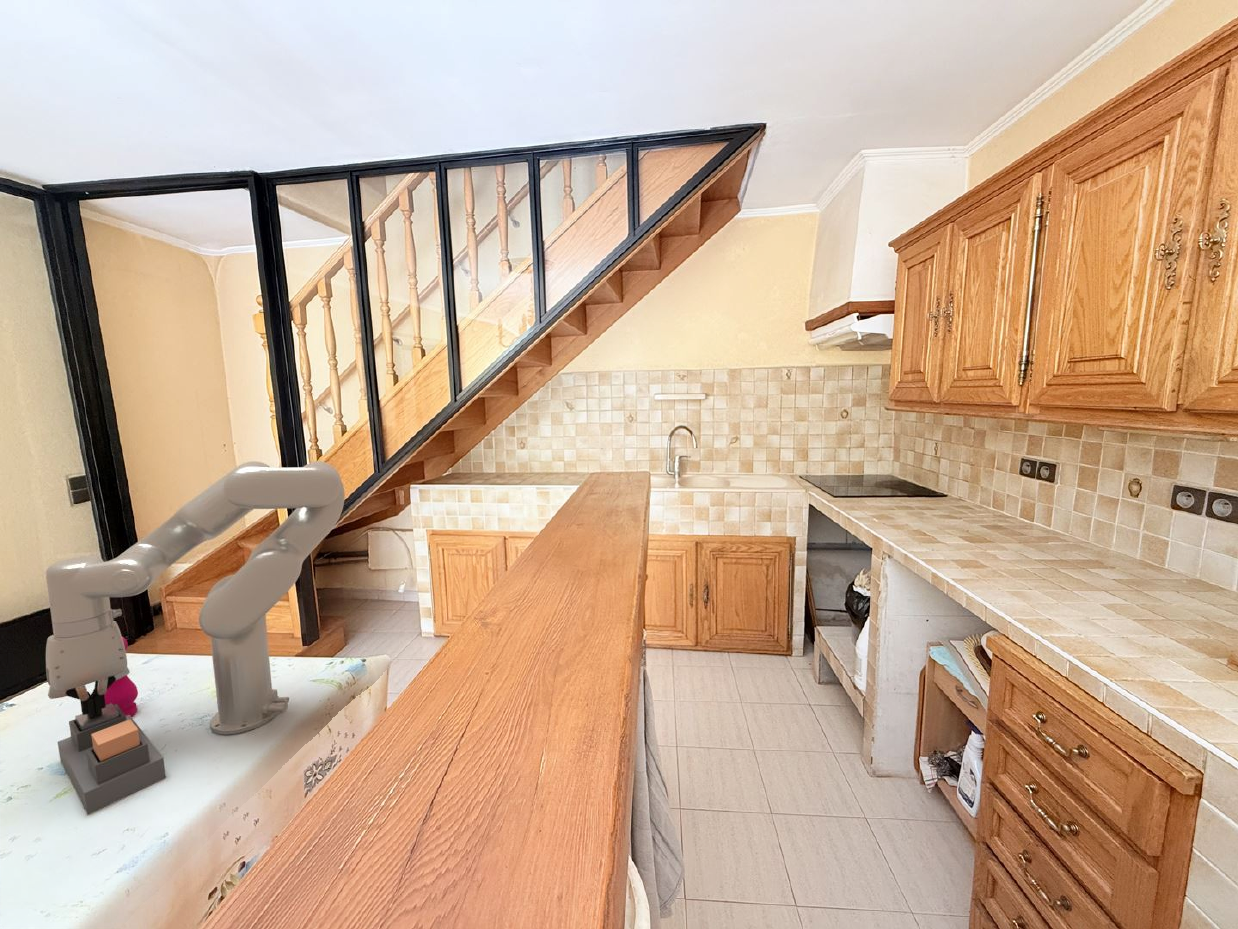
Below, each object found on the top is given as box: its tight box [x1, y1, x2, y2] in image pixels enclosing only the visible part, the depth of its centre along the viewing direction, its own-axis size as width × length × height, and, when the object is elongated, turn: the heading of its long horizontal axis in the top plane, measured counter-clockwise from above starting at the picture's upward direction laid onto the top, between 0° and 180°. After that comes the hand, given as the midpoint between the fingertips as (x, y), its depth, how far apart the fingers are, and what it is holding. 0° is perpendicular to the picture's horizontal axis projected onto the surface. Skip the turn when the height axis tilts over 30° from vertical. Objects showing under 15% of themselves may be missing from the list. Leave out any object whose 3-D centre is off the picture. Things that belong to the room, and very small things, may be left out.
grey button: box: [74, 703, 119, 732], centre depth 96 cm, size 5×5×3 cm
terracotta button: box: [91, 719, 140, 761], centre depth 88 cm, size 5×5×3 cm
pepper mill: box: [104, 636, 139, 718], centre depth 107 cm, size 7×7×20 cm
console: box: [57, 704, 167, 816], centre depth 93 cm, size 22×10×8 cm, turn 56°
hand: (94, 714), depth 96 cm, fingers closed
